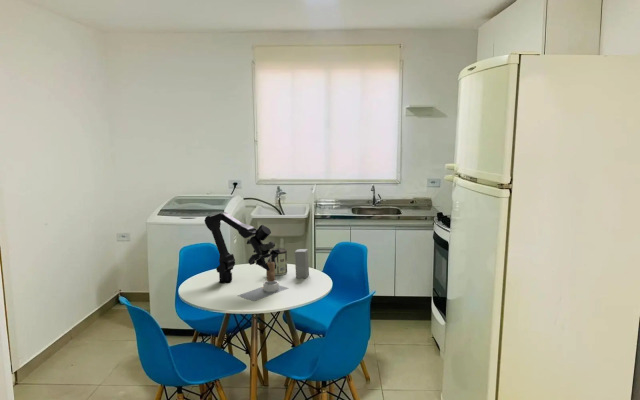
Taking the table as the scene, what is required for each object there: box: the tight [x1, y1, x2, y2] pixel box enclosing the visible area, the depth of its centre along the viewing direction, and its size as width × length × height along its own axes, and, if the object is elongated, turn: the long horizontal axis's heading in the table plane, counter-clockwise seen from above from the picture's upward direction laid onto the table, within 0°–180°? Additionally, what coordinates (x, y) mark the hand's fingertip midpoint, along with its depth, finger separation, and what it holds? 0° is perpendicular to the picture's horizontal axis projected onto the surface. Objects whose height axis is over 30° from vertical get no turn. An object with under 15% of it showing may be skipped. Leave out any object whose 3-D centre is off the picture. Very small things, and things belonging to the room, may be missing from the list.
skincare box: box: [294, 248, 310, 279], centre depth 259 cm, size 8×7×16 cm
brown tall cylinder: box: [265, 256, 276, 281], centre depth 233 cm, size 4×4×13 cm
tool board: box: [236, 280, 289, 302], centre depth 230 cm, size 25×13×4 cm, turn 141°
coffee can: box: [269, 247, 288, 276], centre depth 266 cm, size 10×10×14 cm
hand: (272, 269), depth 232 cm, fingers closed on brown tall cylinder, 4 cm apart
